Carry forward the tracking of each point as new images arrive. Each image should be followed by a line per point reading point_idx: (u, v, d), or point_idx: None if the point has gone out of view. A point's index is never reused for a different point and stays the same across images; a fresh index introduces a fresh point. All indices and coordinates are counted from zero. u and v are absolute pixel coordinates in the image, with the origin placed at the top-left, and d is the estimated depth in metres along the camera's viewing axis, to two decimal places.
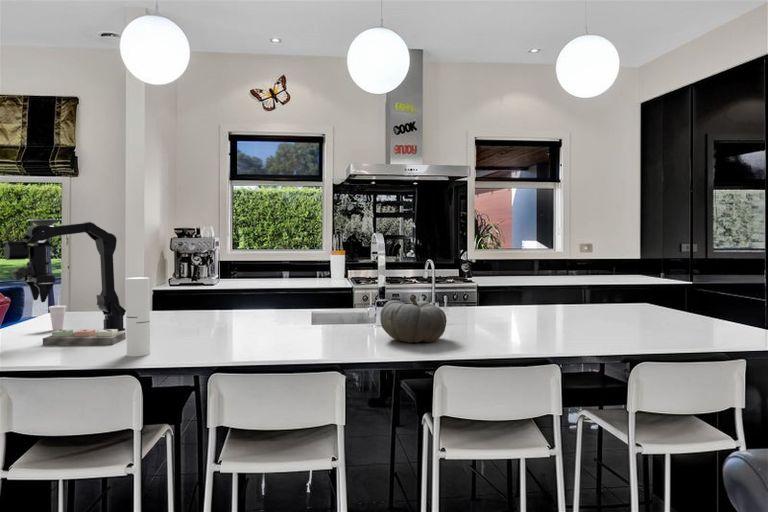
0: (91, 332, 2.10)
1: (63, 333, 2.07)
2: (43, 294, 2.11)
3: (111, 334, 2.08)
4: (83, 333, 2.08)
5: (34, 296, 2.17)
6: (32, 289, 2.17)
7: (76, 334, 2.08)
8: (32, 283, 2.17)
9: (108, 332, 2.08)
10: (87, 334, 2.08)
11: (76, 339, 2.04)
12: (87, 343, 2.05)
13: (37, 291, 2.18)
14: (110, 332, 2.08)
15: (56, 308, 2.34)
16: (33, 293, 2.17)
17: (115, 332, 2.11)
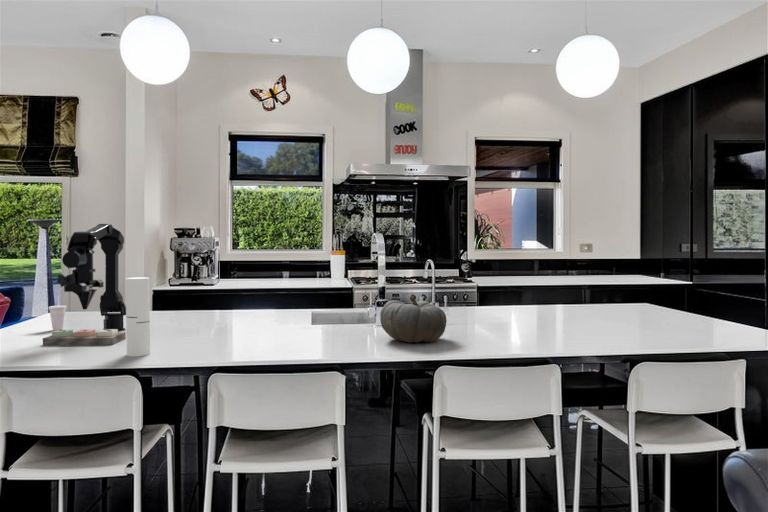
0: (91, 332, 2.10)
1: (63, 333, 2.07)
2: (83, 301, 2.09)
3: (111, 334, 2.08)
4: (83, 333, 2.08)
5: None
6: None
7: (76, 334, 2.08)
8: None
9: (108, 332, 2.08)
10: (87, 334, 2.08)
11: (76, 339, 2.04)
12: (87, 343, 2.05)
13: None
14: (110, 332, 2.08)
15: (56, 308, 2.34)
16: None
17: (115, 332, 2.11)
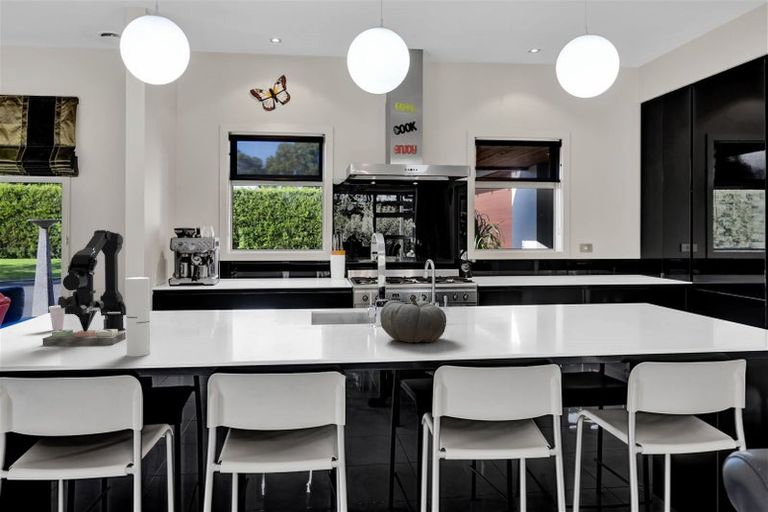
0: (91, 333, 2.10)
1: (63, 333, 2.07)
2: (83, 323, 2.09)
3: (111, 334, 2.08)
4: (83, 334, 2.08)
5: None
6: None
7: (76, 335, 2.08)
8: None
9: (108, 332, 2.08)
10: (87, 335, 2.08)
11: (76, 339, 2.04)
12: (87, 343, 2.05)
13: None
14: (110, 332, 2.08)
15: (56, 308, 2.34)
16: None
17: (115, 332, 2.11)
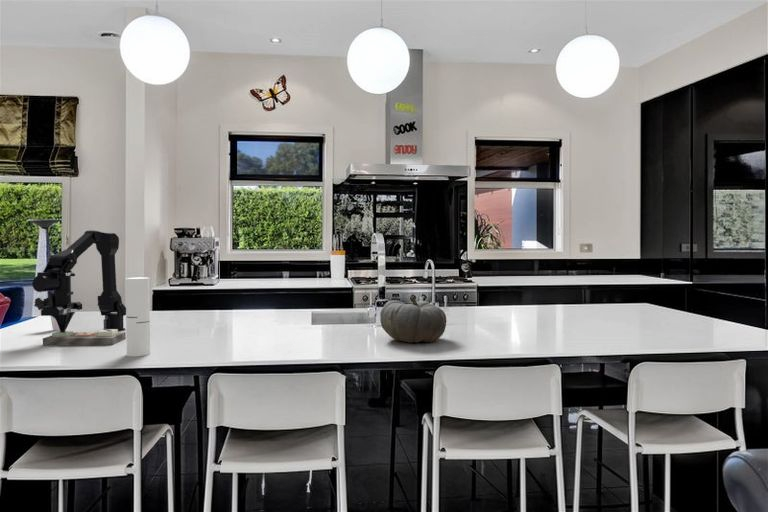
0: (91, 335, 2.10)
1: (63, 334, 2.07)
2: (61, 324, 2.09)
3: (111, 334, 2.08)
4: (83, 336, 2.08)
5: None
6: None
7: None
8: None
9: (108, 332, 2.08)
10: None
11: (76, 339, 2.04)
12: (87, 343, 2.05)
13: None
14: (110, 332, 2.08)
15: None
16: None
17: (115, 332, 2.11)
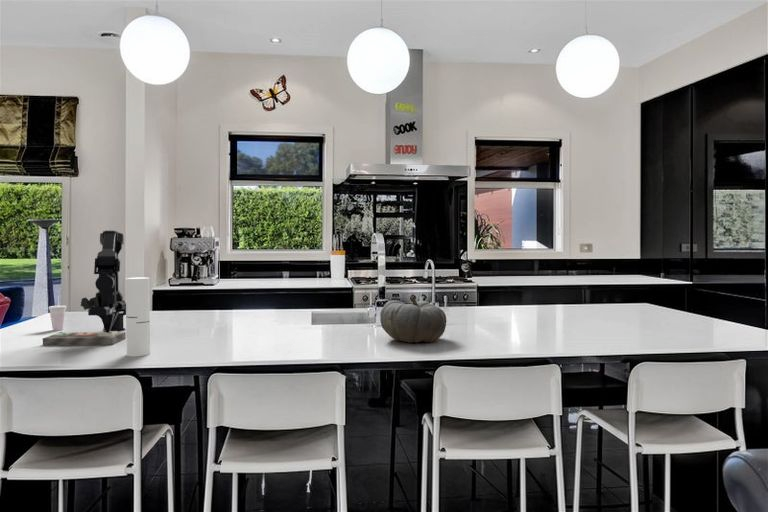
0: (91, 335, 2.10)
1: (63, 336, 2.07)
2: (106, 324, 2.10)
3: None
4: (83, 336, 2.08)
5: None
6: None
7: None
8: None
9: (108, 334, 2.08)
10: None
11: (76, 339, 2.04)
12: (87, 343, 2.05)
13: None
14: (110, 334, 2.08)
15: (56, 308, 2.34)
16: None
17: (115, 334, 2.11)
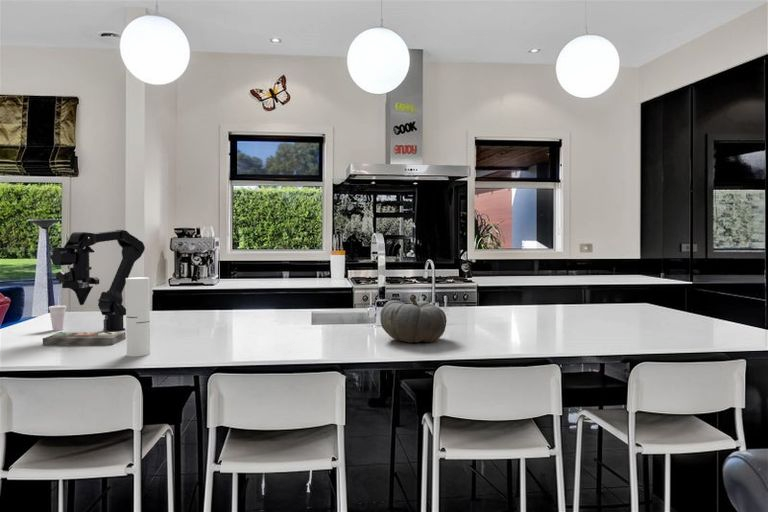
0: (91, 335, 2.10)
1: (63, 336, 2.07)
2: (80, 297, 2.22)
3: None
4: (83, 336, 2.08)
5: None
6: None
7: None
8: None
9: (108, 335, 2.08)
10: None
11: (76, 339, 2.04)
12: (87, 343, 2.05)
13: None
14: (110, 335, 2.08)
15: (56, 308, 2.34)
16: None
17: None
